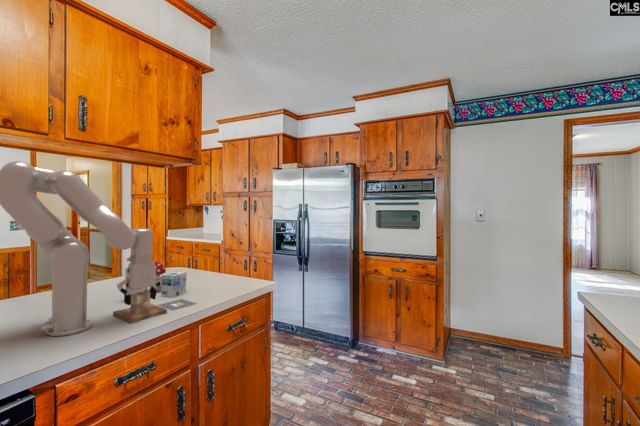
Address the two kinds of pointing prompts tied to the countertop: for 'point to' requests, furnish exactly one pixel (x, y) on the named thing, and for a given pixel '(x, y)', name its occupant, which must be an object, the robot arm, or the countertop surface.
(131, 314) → the walnut board
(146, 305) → the birch block
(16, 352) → the countertop surface
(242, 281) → the countertop surface
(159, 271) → the decorative mushroom
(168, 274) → the light bulb box
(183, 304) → the mat
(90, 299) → the countertop surface
